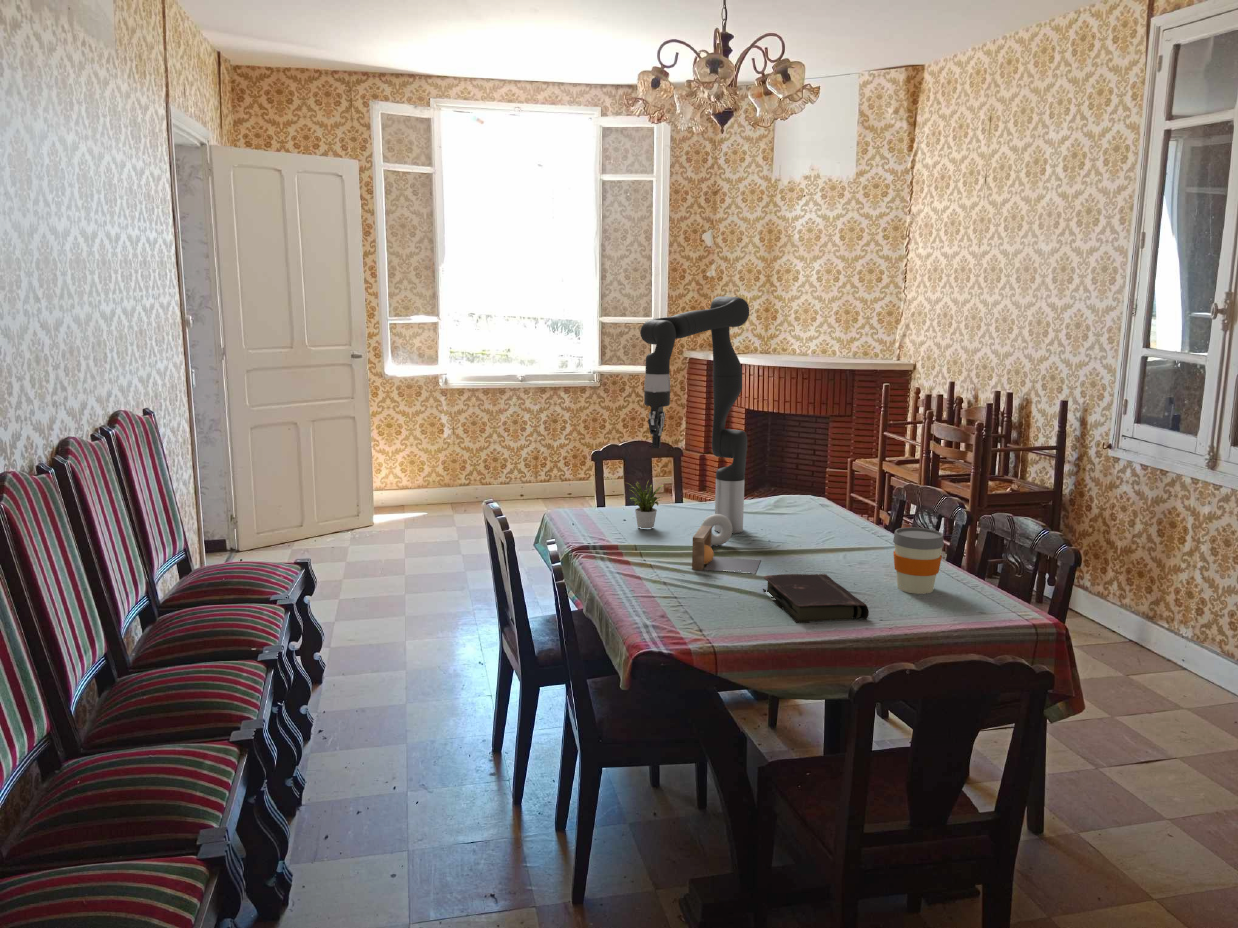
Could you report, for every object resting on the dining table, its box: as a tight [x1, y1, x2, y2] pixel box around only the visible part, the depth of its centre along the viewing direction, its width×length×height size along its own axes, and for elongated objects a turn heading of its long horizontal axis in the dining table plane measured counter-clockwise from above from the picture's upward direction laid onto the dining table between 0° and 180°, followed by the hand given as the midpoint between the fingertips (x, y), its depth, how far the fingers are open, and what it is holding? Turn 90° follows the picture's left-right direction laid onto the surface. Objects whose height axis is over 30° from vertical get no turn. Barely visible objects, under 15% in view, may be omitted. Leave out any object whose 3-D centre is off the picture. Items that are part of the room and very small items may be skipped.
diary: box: [762, 573, 870, 624], centre depth 231 cm, size 19×25×5 cm
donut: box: [700, 513, 733, 546], centre depth 285 cm, size 10×4×10 cm, turn 99°
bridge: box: [691, 526, 713, 571], centre depth 266 cm, size 3×14×9 cm, turn 165°
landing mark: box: [704, 555, 762, 574], centre depth 264 cm, size 14×14×1 cm
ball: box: [704, 545, 715, 565], centre depth 265 cm, size 6×6×6 cm
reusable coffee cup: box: [892, 527, 945, 595], centre depth 243 cm, size 13×13×15 cm
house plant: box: [626, 479, 666, 528], centre depth 305 cm, size 14×14×16 cm
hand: (656, 447), depth 275 cm, fingers closed
